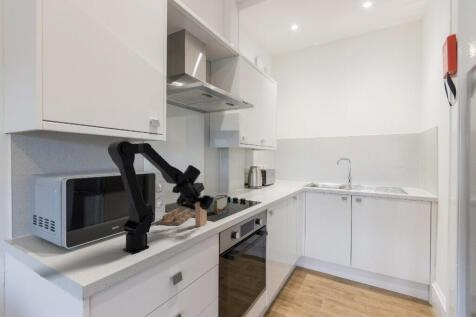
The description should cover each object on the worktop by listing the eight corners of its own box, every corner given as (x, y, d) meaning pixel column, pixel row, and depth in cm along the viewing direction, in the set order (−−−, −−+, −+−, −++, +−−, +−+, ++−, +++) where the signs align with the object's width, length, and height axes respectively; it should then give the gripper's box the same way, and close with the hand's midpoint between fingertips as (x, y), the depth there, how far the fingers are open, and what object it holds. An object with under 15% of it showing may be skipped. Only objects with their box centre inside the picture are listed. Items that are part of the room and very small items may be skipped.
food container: (219, 209, 142) (219, 193, 142) (227, 210, 139) (227, 194, 139) (207, 213, 131) (207, 196, 131) (216, 214, 128) (216, 197, 128)
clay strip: (200, 227, 106) (200, 199, 106) (195, 226, 107) (195, 199, 107) (206, 224, 110) (206, 198, 110) (201, 223, 111) (201, 197, 111)
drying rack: (179, 225, 108) (179, 217, 108) (157, 224, 110) (157, 216, 110) (194, 214, 128) (194, 208, 128) (175, 214, 130) (175, 207, 130)
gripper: (210, 178, 100) (224, 198, 110) (180, 176, 109) (195, 195, 119) (199, 198, 93) (215, 218, 103) (168, 195, 103) (185, 213, 112)
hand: (202, 210), depth 109 cm, fingers open, 9 cm apart
